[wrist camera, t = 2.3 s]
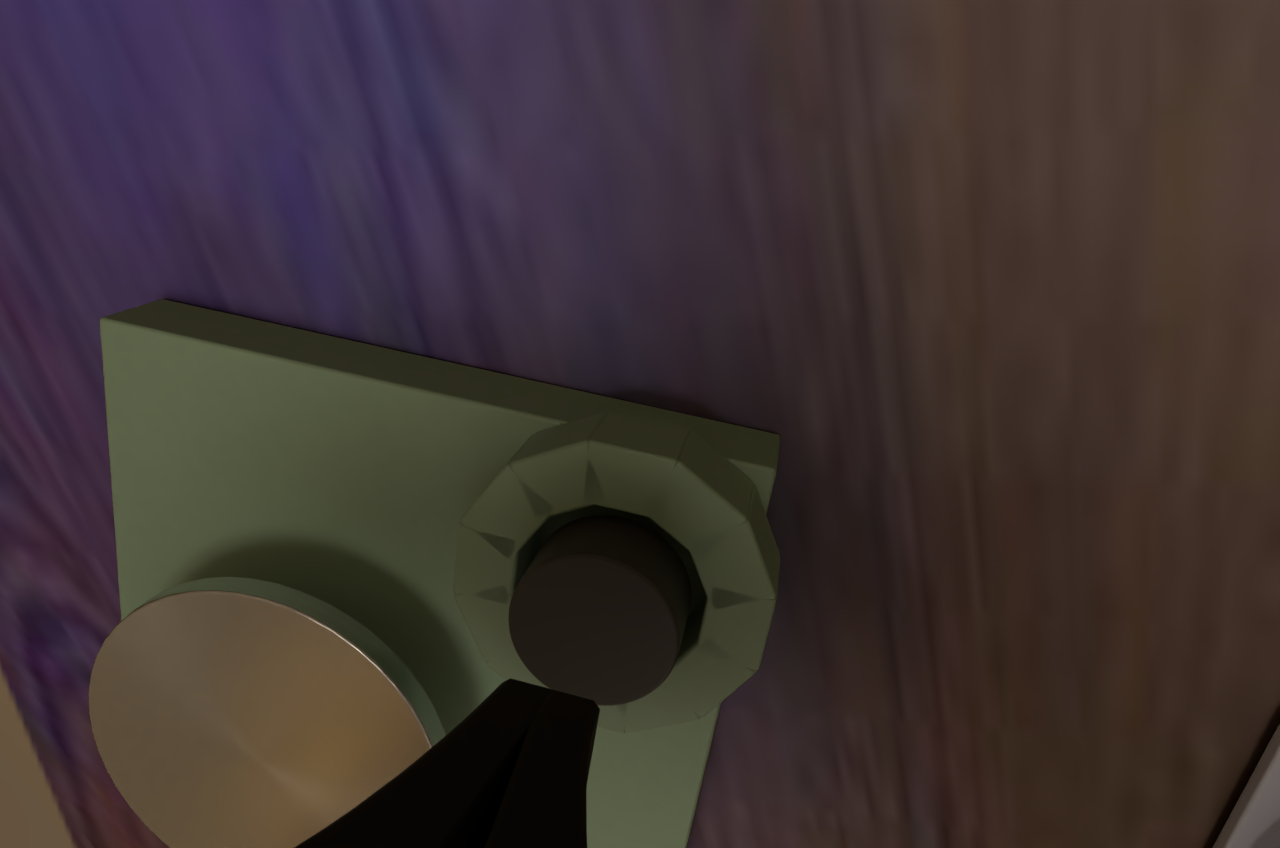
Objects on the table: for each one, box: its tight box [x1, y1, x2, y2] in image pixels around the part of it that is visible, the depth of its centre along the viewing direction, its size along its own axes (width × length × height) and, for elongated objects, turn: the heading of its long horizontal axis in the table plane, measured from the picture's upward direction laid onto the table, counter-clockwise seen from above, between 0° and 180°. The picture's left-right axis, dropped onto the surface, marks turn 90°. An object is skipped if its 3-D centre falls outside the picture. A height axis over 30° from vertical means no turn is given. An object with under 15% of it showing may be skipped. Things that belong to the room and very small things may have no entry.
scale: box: [100, 299, 781, 848], centre depth 19 cm, size 14×12×4 cm
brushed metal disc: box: [89, 577, 446, 848], centre depth 19 cm, size 8×8×1 cm
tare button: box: [508, 515, 692, 706], centre depth 16 cm, size 3×3×2 cm
